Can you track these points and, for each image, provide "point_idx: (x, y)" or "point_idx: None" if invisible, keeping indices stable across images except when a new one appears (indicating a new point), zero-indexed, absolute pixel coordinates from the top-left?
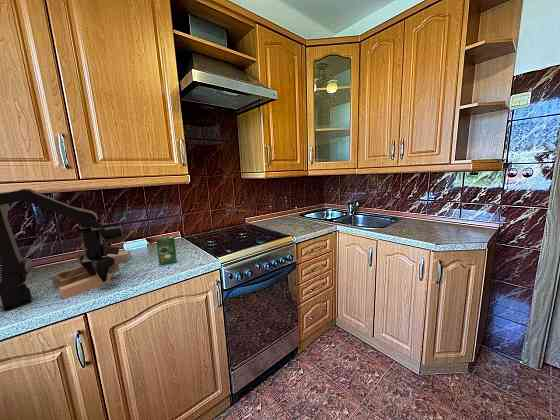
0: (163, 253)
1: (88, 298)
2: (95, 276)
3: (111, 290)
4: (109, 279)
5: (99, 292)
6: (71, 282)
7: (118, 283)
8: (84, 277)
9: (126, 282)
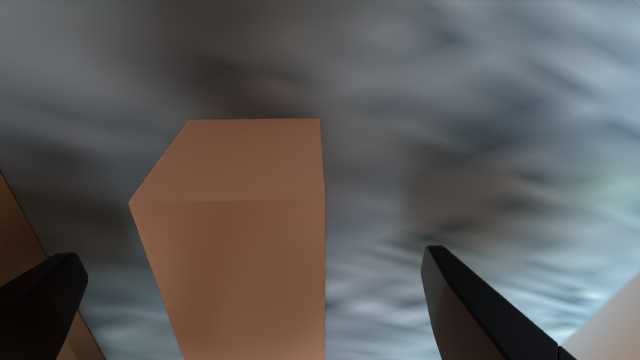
0: None
1: None
2: (244, 340)
3: (592, 216)
4: (319, 146)
5: (490, 281)
6: None
7: (508, 89)
8: None
9: (626, 3)
